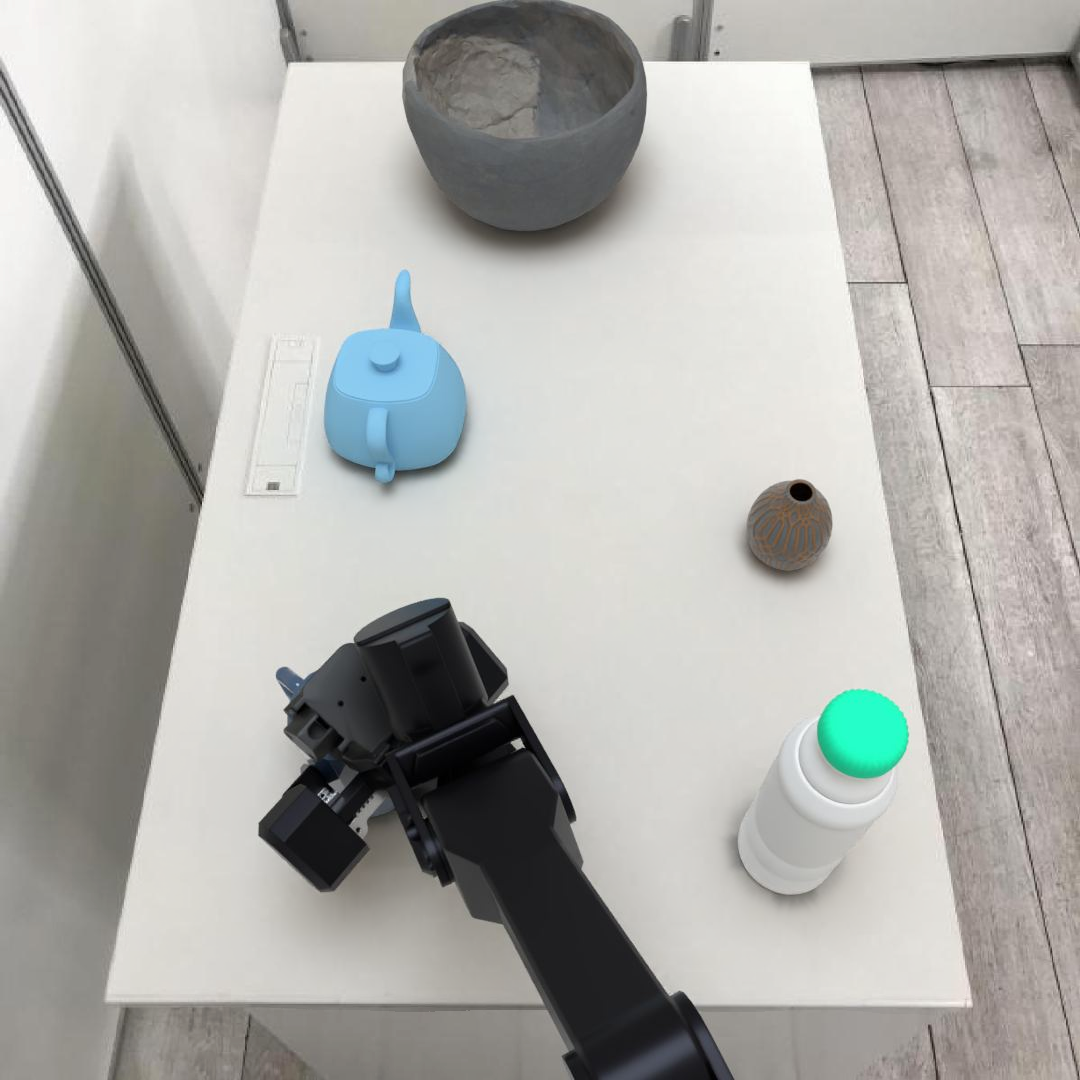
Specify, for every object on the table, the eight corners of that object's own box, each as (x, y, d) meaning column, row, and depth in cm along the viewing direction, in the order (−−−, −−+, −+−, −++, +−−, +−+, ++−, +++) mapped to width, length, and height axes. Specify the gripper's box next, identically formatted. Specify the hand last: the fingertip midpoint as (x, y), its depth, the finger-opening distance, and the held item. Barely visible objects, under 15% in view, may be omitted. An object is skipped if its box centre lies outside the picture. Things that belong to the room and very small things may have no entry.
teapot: (472, 268, 95) (445, 430, 86) (479, 348, 104) (456, 502, 95) (332, 261, 96) (291, 420, 86) (352, 341, 105) (316, 493, 96)
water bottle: (822, 910, 76) (924, 806, 55) (726, 878, 78) (789, 764, 56) (840, 818, 80) (944, 685, 58) (748, 788, 81) (816, 648, 60)
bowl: (426, 111, 123) (411, -15, 110) (639, 114, 122) (648, -12, 109) (403, 265, 110) (383, 144, 97) (640, 270, 109) (651, 148, 96)
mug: (433, 765, 82) (410, 701, 71) (373, 835, 79) (339, 780, 68) (340, 692, 85) (304, 619, 74) (279, 756, 83) (232, 691, 72)
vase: (733, 570, 91) (749, 516, 83) (749, 505, 94) (766, 447, 87) (814, 591, 90) (838, 537, 82) (827, 524, 93) (851, 466, 86)
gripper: (462, 564, 64) (358, 561, 78) (238, 805, 57) (165, 757, 70) (566, 689, 69) (450, 666, 82) (370, 929, 61) (277, 862, 74)
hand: (341, 731), depth 77 cm, fingers closed on mug, 7 cm apart
